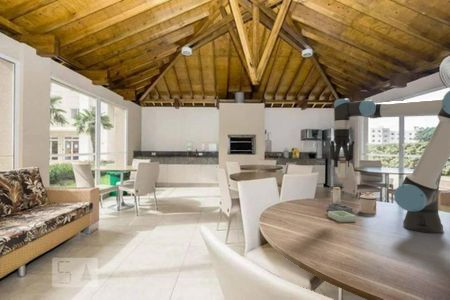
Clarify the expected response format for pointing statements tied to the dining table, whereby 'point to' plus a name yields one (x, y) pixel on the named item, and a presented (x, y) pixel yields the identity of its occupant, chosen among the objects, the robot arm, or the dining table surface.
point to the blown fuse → (342, 168)
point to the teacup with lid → (368, 203)
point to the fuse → (336, 195)
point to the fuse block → (340, 208)
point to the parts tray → (341, 216)
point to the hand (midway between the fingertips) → (341, 173)
